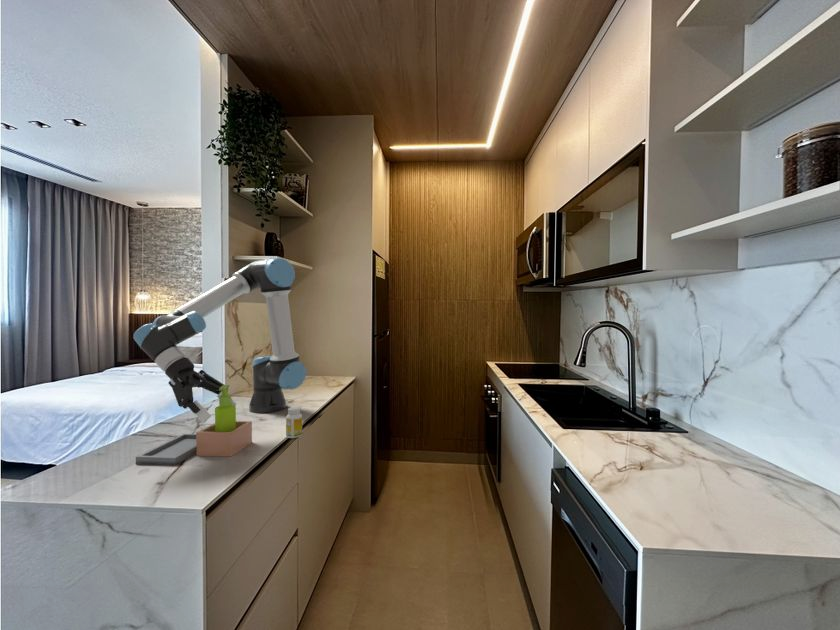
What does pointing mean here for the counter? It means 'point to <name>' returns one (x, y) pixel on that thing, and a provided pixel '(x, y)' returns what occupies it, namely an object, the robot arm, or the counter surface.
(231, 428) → the soap dispenser
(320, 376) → the counter surface
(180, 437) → the grey tray
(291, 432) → the supplement bottle
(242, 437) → the terracotta open box
